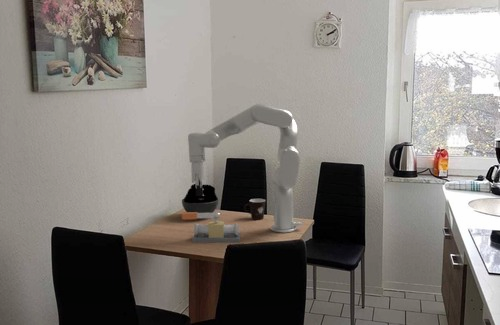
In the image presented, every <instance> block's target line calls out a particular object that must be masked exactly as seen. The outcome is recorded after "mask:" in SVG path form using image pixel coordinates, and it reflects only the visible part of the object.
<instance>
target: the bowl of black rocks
mask: <svg viewBox="0 0 500 325" xmlns="http://www.w3.org/2000/svg"><path fill="white" fill-rule="evenodd" d="M202 187H203V196H196V184H195V183H192V184H191V185H190V188H188V190H187V192H186V194H185V197H184V198H183V199H182V200H181V204H182V207H183V209H184V212H197V213H215V211H216V209H217V207H218V204H219V198H218V196H217V194H216V188H215V187H214V186H212V185H211V184H202Z"/></svg>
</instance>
